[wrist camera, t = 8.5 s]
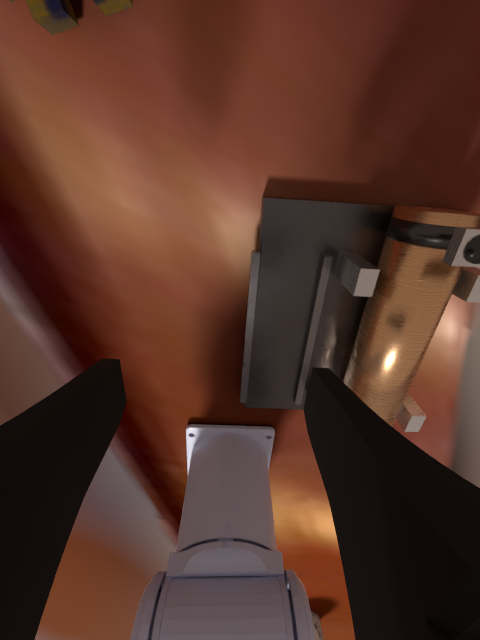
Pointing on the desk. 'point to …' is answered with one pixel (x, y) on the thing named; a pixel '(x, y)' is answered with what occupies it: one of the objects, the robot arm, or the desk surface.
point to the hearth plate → (304, 295)
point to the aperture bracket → (464, 248)
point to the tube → (404, 305)
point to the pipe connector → (67, 12)
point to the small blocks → (362, 282)
